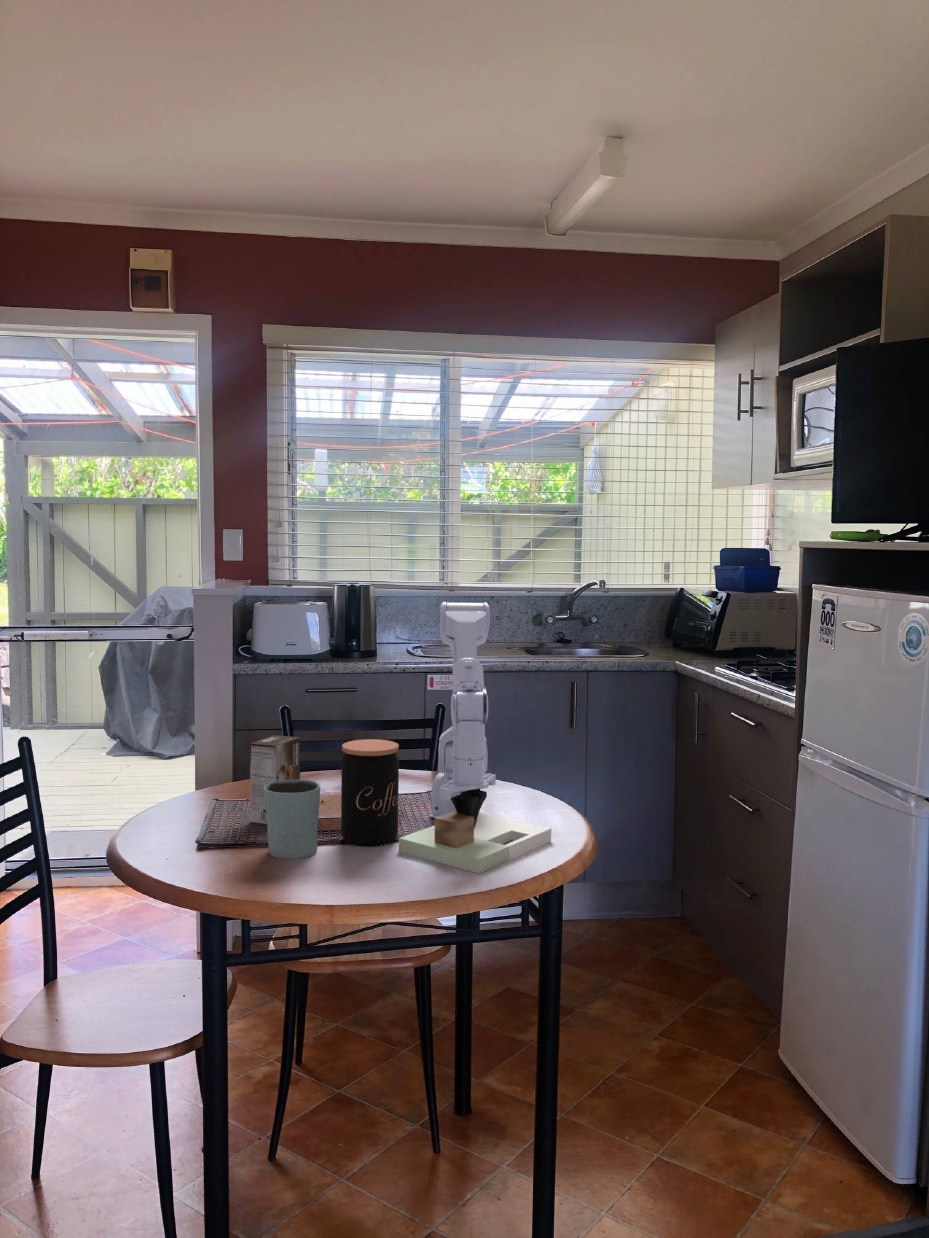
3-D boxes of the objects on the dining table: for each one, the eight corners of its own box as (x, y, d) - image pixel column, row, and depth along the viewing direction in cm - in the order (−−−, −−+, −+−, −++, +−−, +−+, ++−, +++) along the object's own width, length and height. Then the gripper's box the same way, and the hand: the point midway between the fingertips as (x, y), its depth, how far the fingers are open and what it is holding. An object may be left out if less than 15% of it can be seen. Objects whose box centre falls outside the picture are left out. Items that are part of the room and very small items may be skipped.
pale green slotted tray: (398, 851, 169) (398, 838, 169) (474, 823, 187) (474, 810, 187) (478, 873, 158) (479, 859, 158) (551, 841, 177) (551, 828, 176)
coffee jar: (353, 851, 169) (353, 753, 168) (333, 834, 178) (333, 741, 177) (407, 843, 174) (408, 748, 173) (385, 828, 183) (385, 737, 182)
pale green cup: (302, 863, 162) (302, 795, 161) (252, 855, 166) (252, 789, 165) (330, 846, 172) (330, 781, 171) (282, 839, 175) (282, 776, 174)
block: (434, 842, 167) (434, 817, 166) (451, 836, 171) (452, 811, 170) (456, 848, 164) (457, 823, 163) (473, 841, 168) (474, 816, 167)
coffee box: (274, 810, 194) (274, 734, 193) (301, 813, 192) (301, 736, 191) (249, 822, 186) (249, 742, 185) (277, 826, 184) (277, 745, 182)
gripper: (461, 767, 161) (460, 844, 162) (509, 753, 173) (508, 825, 174) (430, 761, 165) (429, 836, 166) (478, 748, 177) (477, 818, 178)
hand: (467, 830), depth 170 cm, fingers closed
